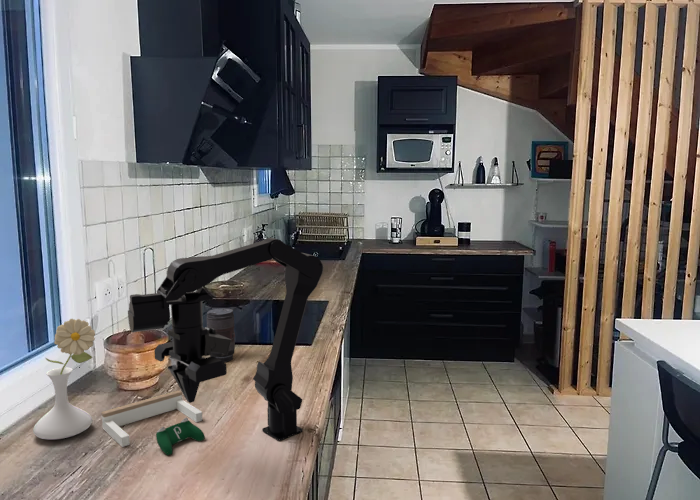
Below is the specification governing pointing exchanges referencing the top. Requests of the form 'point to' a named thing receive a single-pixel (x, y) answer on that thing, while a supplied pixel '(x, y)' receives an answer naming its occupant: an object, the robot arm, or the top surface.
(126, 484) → the top surface
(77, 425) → the flower in vase
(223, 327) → the dark grey cylinder
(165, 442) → the gaming controller
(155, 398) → the frame
